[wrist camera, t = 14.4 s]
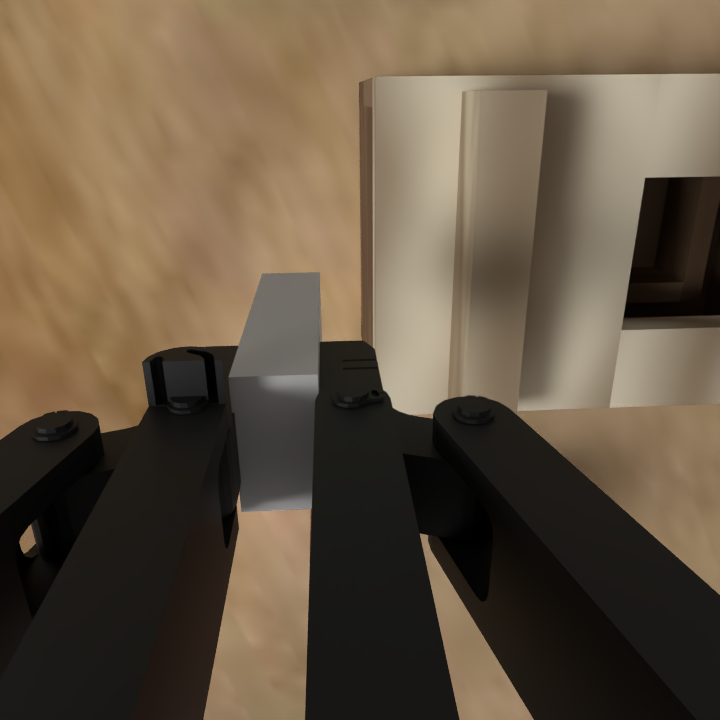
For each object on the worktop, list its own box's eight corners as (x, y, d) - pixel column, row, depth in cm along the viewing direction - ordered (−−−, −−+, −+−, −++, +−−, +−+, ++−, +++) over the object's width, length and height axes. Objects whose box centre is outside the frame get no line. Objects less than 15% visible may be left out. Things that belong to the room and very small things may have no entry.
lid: (373, 400, 28) (382, 452, 24) (372, 77, 23) (384, 73, 19) (809, 385, 29) (891, 433, 25) (898, 73, 24) (1018, 68, 20)
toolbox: (361, 336, 36) (372, 398, 28) (359, 82, 31) (372, 77, 23) (708, 325, 37) (806, 383, 29) (760, 79, 32) (893, 73, 24)
